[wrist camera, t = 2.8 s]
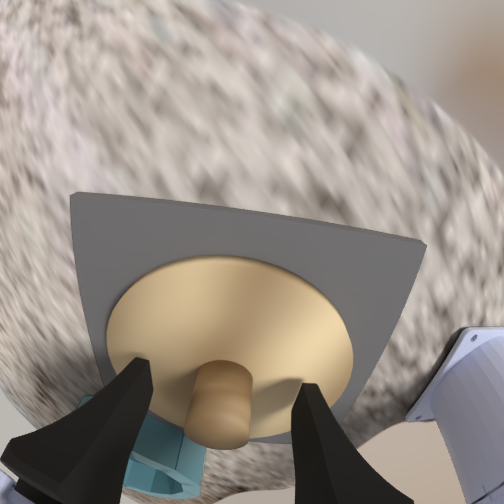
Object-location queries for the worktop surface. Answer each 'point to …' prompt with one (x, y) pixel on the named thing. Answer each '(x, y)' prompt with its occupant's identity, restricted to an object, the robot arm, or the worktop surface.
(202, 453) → the bowl
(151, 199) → the mat
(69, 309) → the worktop surface
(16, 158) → the worktop surface
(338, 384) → the lid
